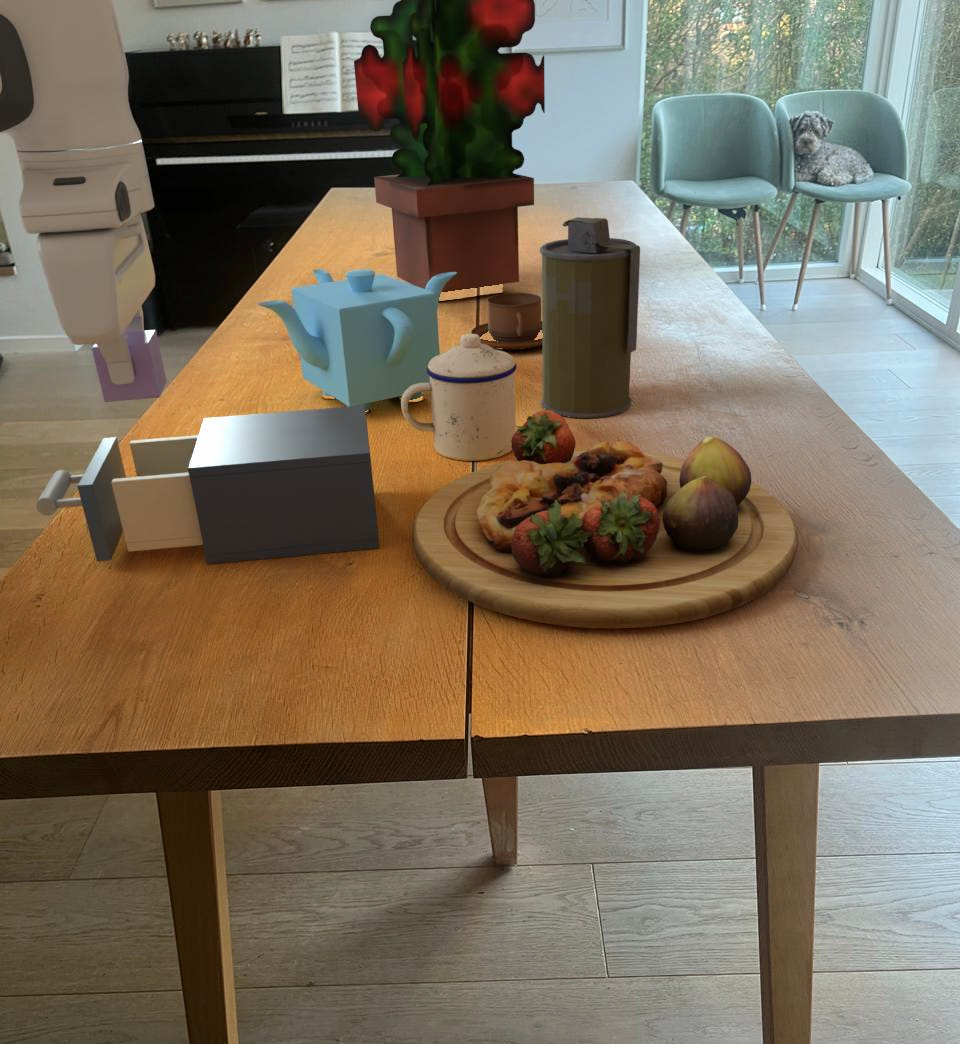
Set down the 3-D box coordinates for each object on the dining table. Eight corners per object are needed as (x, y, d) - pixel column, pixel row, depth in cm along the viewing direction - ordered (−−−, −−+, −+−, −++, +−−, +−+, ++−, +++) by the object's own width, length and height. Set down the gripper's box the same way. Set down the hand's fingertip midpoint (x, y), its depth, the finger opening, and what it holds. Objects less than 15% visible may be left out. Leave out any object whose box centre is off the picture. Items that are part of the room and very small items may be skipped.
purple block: (104, 402, 82) (91, 347, 80) (113, 386, 86) (101, 333, 84) (159, 397, 83) (148, 343, 80) (166, 382, 86) (156, 329, 84)
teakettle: (422, 426, 114) (413, 290, 106) (267, 418, 118) (248, 287, 111) (465, 376, 130) (459, 255, 122) (327, 371, 134) (313, 253, 126)
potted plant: (490, 271, 184) (480, -25, 161) (545, 295, 167) (543, -34, 144) (374, 287, 177) (346, -21, 154) (419, 313, 160) (396, -31, 136)
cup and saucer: (574, 347, 139) (574, 301, 136) (495, 361, 135) (494, 313, 132) (532, 328, 148) (531, 285, 145) (457, 341, 144) (455, 296, 141)
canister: (523, 410, 117) (520, 224, 107) (570, 385, 124) (571, 209, 114) (607, 425, 112) (612, 231, 101) (650, 398, 119) (659, 215, 109)
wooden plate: (410, 482, 100) (404, 400, 96) (731, 461, 101) (739, 379, 97) (417, 652, 72) (408, 547, 68) (857, 621, 74) (875, 516, 69)
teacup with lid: (507, 428, 112) (504, 320, 106) (527, 457, 104) (525, 342, 98) (399, 440, 110) (390, 331, 104) (411, 470, 102) (402, 354, 97)
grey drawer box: (206, 564, 86) (187, 468, 82) (219, 505, 97) (203, 417, 92) (379, 548, 87) (370, 452, 83) (373, 492, 98) (364, 405, 94)
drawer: (42, 566, 85) (20, 490, 81) (71, 512, 95) (52, 442, 91) (259, 546, 86) (247, 471, 83) (266, 495, 96) (255, 425, 93)
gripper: (75, 174, 85) (113, 342, 92) (11, 211, 67) (64, 414, 74) (152, 169, 85) (184, 336, 92) (108, 204, 68) (152, 406, 75)
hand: (130, 371), depth 83 cm, fingers closed on purple block, 4 cm apart
